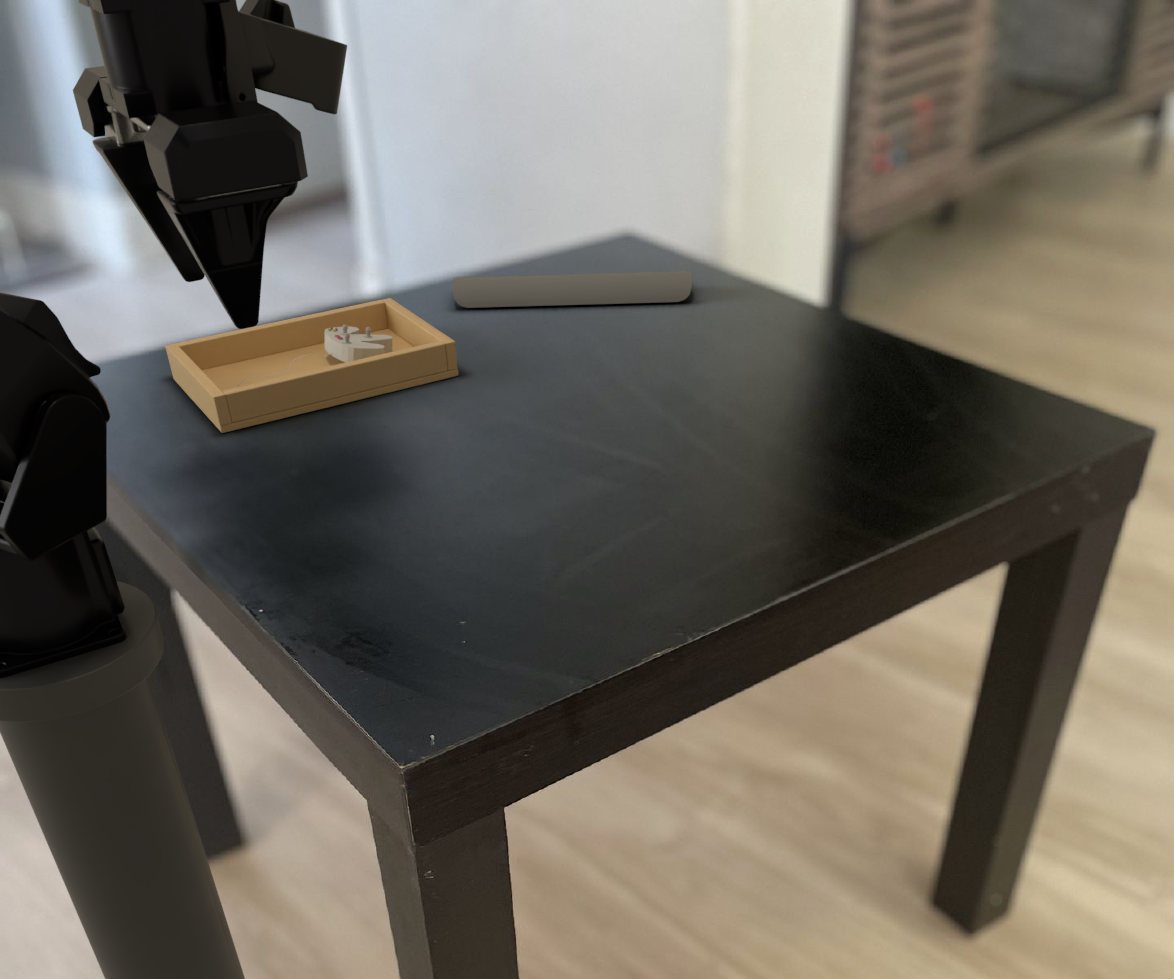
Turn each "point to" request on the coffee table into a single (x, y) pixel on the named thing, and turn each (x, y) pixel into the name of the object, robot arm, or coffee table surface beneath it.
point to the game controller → (353, 344)
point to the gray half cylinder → (572, 289)
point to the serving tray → (306, 364)
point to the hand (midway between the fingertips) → (219, 302)
